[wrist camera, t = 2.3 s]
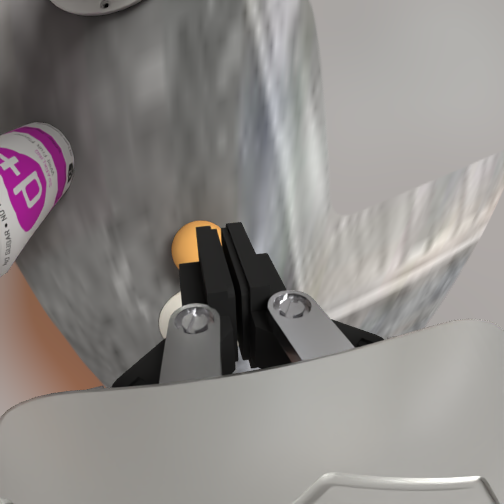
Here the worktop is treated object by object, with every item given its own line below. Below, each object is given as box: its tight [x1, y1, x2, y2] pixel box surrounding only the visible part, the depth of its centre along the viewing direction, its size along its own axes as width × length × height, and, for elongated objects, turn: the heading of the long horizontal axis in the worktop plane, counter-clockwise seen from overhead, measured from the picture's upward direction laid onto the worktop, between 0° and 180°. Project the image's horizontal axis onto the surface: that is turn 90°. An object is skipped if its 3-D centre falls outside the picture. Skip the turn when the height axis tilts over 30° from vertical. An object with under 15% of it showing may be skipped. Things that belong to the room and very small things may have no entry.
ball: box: [172, 221, 222, 269], centre depth 30 cm, size 6×6×6 cm
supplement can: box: [0, 122, 74, 277], centre depth 18 cm, size 8×8×15 cm
